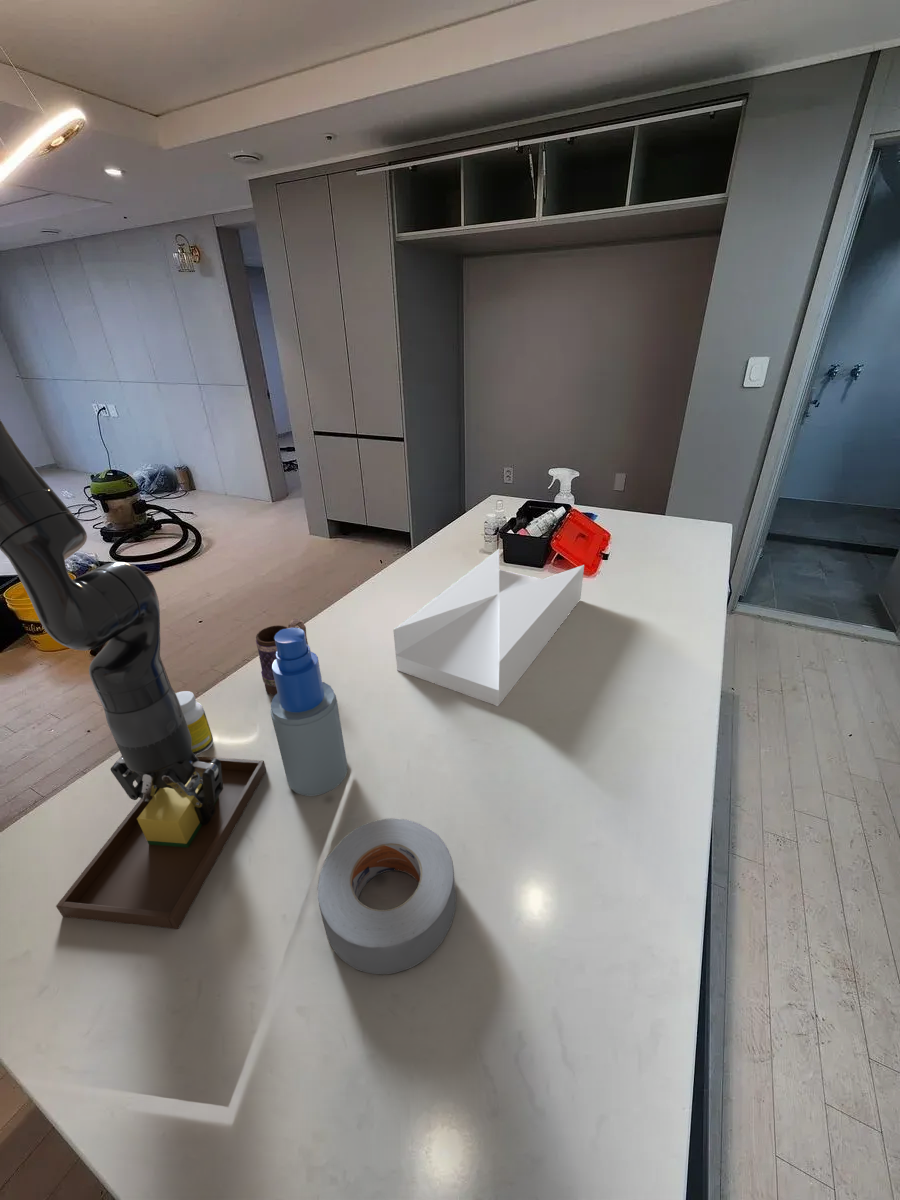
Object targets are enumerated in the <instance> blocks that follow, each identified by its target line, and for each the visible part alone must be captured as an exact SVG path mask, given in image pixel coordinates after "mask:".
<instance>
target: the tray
mask: <svg viewBox="0 0 900 1200" xmlns="http://www.w3.org/2000/svg"><path fill="white" fill-rule="evenodd" d="M196 756H197V758H198V759H199V761H201V762H206V763H210V762H211V761H212V759H218V760H220V762H221V770H222V782H223V790H222V791H221V793H220V794H219V798H218V800H217V802H216V803H215V805H214V807H215V813H214V815H213V817H212V818H211V820H210V821H209V822H208V824H207V825H202V826H201V828H200V829H199V831H198V833H197V834H196V836H195V838H194V839H193V841H192V842H191V844H190V846H189V847H188V848H187V847H174V846H161V845H149V844H148V842H147V840H146V837H145V835H144V833H143V831H142V829H141V827H140V825H139V822H138V820H137V818H138V817H139V815H140V814H141V813H142V811H143V810H144V809H145V807H146V806H147V805H148V804H146V803H145V802H144V801H143V799H142V798H139V800H138V801H137V802H136V804H135V805H134V807H132V809H131V810H130V811H129V813H128V814H127V815H126V817H125V818H123V820H122V822H121V823H120V824H119V825H118V827H117V828H116V829H115V831H114V832H113V833H112V834H111V835H110V837H108V839H107V841H106V842H105V843H104V844H103V845H102V846H101V848H100V850H99V851H98V852H97V853H96V855H95V856H94V857H93V858H92V860H91V861H90V862H89V864H87V866H86V868H85V869H84V870H83V871H82V872H81V874H80V875H79V876H78V877H77V879H76V880H75V881H74V882H73V884H72V885H71V886H70V887H69V888H68V890H67V891H66V893H65V894H64V895H63V897H62V898H61V899H60V900H59V901H58V903H57V904H55V908H56V909H57V910H58V913H60V915H61V917H63V918H71V919H80V920H89V921H97V922H98V921H99V922H107V923H117V924H126V925H135V926H145V927H154V928H164V929H173V930H179V929H180V927H181V925H182V923H183V922H184V920H185V918H186V916H187V914H188V913H189V911H190V909H191V907H192V905H193V903H194V902H195V900H196V898H197V896H198V894H199V893H200V891H201V889H202V888H203V886H204V883H205V882H206V880H207V878H208V877H209V875H210V873H211V871H212V869H213V868H214V866H215V865H216V863H217V860H218V859H219V857H220V855H221V853H222V851H223V850H224V848H225V846H226V844H227V843H228V841H229V839H230V837H231V836H232V833H233V832H234V830H235V828H236V826H237V824H238V823H239V821H240V819H241V817H242V816H243V814H244V812H245V811H246V808H247V806H248V805H249V803H250V801H251V800H252V798H253V796H254V794H255V793H256V790H257V789H258V787H259V785H260V783H261V782H262V780H263V778H264V776H265V774H266V772H267V767H266V764H265V761H264V760H259V759H258V760H256V759H244V758H243V759H241V758H229V757H228V758H227V757H214V756H213V757H212V756H200V755H199V756H198V755H196Z"/></svg>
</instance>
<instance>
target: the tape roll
mask: <svg viewBox="0 0 900 1200" xmlns="http://www.w3.org/2000/svg"><path fill="white" fill-rule="evenodd" d="M392 871H396V872H403V873H406V874H408V875H410V876H411V877H412V878H414V879H415V880H416V882H417V883H418V885H417V886H416V887H417V888H416V889H415V890H414V892H413V893H412V895H411V896H410V897H409V898H408V899H407V900H406V901H405V902H403V903H402V904H400V905H398V906H395V907H392V908H387V909H376V908H372V907H369V906H367V905H365V904H364V903H362V902H361V901H360V900H359V898H360V895H361V893H362V891H363V889H364V888H365V886H366V885H367V884H368V883H369V882H370V881H371V880H372V879H373V878H375V877H377V876H378V875H380V874H383V873H386V872H392ZM455 880H456V879H455V868H454V863H453V857H452V855H451V852H450V850H449V848H448V846H447V844H446V843H445V842H444V840H443V839H442V838H441V836H440V835H439V834H438V833H437V832H435V831H434V830H432V829H430V828H429V827H427V826H425V825H423V824H421V823H418V822H415V821H413V820H409V819H405V818H395V817H391V818H389V817H388V818H383V819H377V820H373V821H371V822H367V823H365V824H363V825H360V826H358V827H357V828H355V829H353V830H352V831H351V832H349V833H348V834H346V835H345V836H344V837H343V838H342V839H341V841H340V842H339V843H338V844H337V845H336V846H335V847H334V849H333V850H332V851H331V852H330V853H329V855H327V857H326V859H325V860H324V863H323V866H322V868H321V870H320V873H319V877H318V881H317V882H318V883H317V901H318V902H317V903H318V907H319V912H320V916H321V920H322V923H323V927H324V932H325V936H326V938H327V941H328V942H329V944H330V947H331V948H332V950H333V951H334V952H335V954H336V955H337V956H338V957H339V958H340V959H341V960H342V961H343V962H344V963H345V964H347V965H348V966H350V967H351V968H354V969H356V970H357V971H361V972H364V973H367V974H373V975H389V974H390V975H391V974H396V973H400V972H403V971H406V970H409V969H411V968H413V967H415V966H417V965H419V964H420V963H422V962H423V961H425V960H426V959H427V958H428V957H430V956H431V955H432V954H433V953H434V952H435V951H436V950H437V949H438V947H439V946H440V945H441V944H442V943H443V941H444V940H445V938H446V935H447V934H448V932H449V931H450V928H451V925H452V923H453V920H454V916H455V911H456V904H457V897H456V881H455Z"/></svg>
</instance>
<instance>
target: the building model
mask: <svg viewBox="0 0 900 1200" xmlns="http://www.w3.org/2000/svg"><path fill="white" fill-rule="evenodd" d="M584 571H585V564H581V565H579V566H576V567H573V568H570V569H567V570H564V571H561V572H558V573H555V574H552V575H550V576H546V577H544V578H540V577H535V576H532V575H526V574H523V573H522V574H521V573H516V572H513V571H509V570H503V569H500V548H497V550H495V551H494V552H493V553H491V554H490V555H488V556H487V557H486V558H485V559H484V560H482V561H480V562H479V563H478V564H476V566H474V567H473V568H471V569H470V570H469V571H467V572H466V573H465V574H463V576H461V577H460V578H458V580H456V581H455V582H453V583H452V584H450V585H449V586H448V587H447V588H445V589H444V590H442V591H441V592H440V593H439V594H438V595H436V596H434V597H433V598H432V599H431V600H429V602H427V603H426V604H425V605H423V606H422V607H421V608H419V609H418V610H416V611H415V612H414V613H412V614H411V615H410V616H409V617H407V618H406V619H405V620H404V621H402V622H401V623H400V624H398V625H397V626H396V627H394V628H393V631H392V632H393V641H394V652H395V662H396V671H398V672H401V673H403V674H407V675H409V676H412V677H415V678H417V679H421V680H424V681H426V682H429V683H432V684H434V683H435V685H438V686H440V687H443V688H446V689H449V690H451V691H454V692H457V693H460V694H463V695H464V696H469V697H471V698H474V699H476V700H478V701H482V702H485V703H488V704H491V705H494V706H496V707H499V706H501V704H502V702H503V701H504V700H505V698H506V697H507V696H508V695H509V693H510V692H511V690H512V689H513V688H514V687H515V686H516V684H517V683H518V682H519V681H520V679H521V678H522V677H523V675H524V674H525V673H526V672H527V670H528V669H529V667H530V666H531V665H532V663H533V662H534V661H535V660H536V658H537V657H538V656H539V655H540V653H541V652H542V651H543V649H544V648H545V647H546V646H547V644H548V643H549V642H550V641H551V639H552V638H553V637H554V635H555V634H556V633H557V631H558V630H559V629H560V627H561V626H562V625H563V624H562V622H563V621H564V620H565V619H566V620H567V618H568V617H569V616H568V614H569V613H570V612H571V610H572V609H573V608H574V607H575V605H576V604H577V603H578V601H579V600H580V599H582V598H581V597H582V589H583V580H584ZM580 601H581V600H580ZM578 604H579V603H578ZM578 604H577V605H578ZM577 605H576V606H577ZM575 608H576V607H575ZM575 608H574V609H575ZM574 609H573V610H574ZM571 613H572V612H571ZM571 613H570V614H571ZM567 616H568V617H567ZM566 617H567V618H566ZM566 620H565V621H566ZM565 621H564V622H565ZM564 622H563V623H564ZM561 624H562V625H561ZM560 625H561V626H560ZM559 626H560V627H559ZM558 628H559V629H558ZM557 629H558V630H557ZM555 632H556V633H555ZM554 633H555V634H554ZM551 637H552V638H551ZM548 641H549V642H548Z"/></svg>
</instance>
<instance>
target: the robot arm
mask: <svg viewBox="0 0 900 1200" xmlns="http://www.w3.org/2000/svg"><path fill="white" fill-rule="evenodd" d="M87 539H88V534H87V531H86V529H85V528H84V526H83V525H82V523H81V522H80V521H79V520H78V518H77V517H76V516H75V514H74V513H72V511H71V510H70V509H69V508H68V507H67V505H66V504H65V503H64V502H63V500H62V499H61V498H60V497H59V496H58V494H57V493H56V492H55V491H54V490H53V489H52V487H51V486H50V485H49V484H48V483H47V482H46V480H45V479H44V478H43V477H42V476H41V474H40V473H39V472H38V471H37V469H36V468H35V467H34V465H33V464H32V463H31V462H30V460H29V459H28V458H27V456H26V455H25V454H24V452H23V451H22V449H21V448H20V447H19V445H18V444H17V442H16V441H15V440H14V438H13V436H12V435H11V434H10V432H9V430H8V429H7V427H6V426H5V424H4V423H3V421H2V420H1V418H0V551H1V552H2V553H3V554H4V555H5V556H6V558H7V559H8V560H9V562H10V564H11V565H12V567H13V569H14V571H15V573H16V574H17V576H18V578H19V580H20V583H21V584H22V586H23V588H24V590H25V592H26V593H27V596H28V598H29V600H30V602H31V604H32V607H33V609H34V612H35V614H36V617H37V618H38V620H39V622H40V624H41V626H42V628H43V629H44V630H45V632H46V633H47V634H48V636H50V637H51V638H52V639H53V640H54V641H55V642H57V643H58V644H60V645H62V646H64V647H66V648H69V649H71V650H75V651H85V652H86V651H91V650H95V649H96V648H99V647H101V646H102V645H104V644H105V646H104V647H103V648H102V649H101V650H99V652H98V653H97V654H96V655H95V656H94V658H92V661H91V662H90V664H89V667H88V675H89V678H90V681H91V683H92V685H93V687H94V690H95V691H96V694H97V697H98V698H99V701H100V703H101V705H102V709H103V710H104V715H105V719H106V723H107V726H108V728H109V730H110V732H111V735H112V737H113V739H114V741H115V744H116V746H117V748H118V751H119V753H120V755H121V756H120V757H119V758H118V759H117V760H116V761H115V762H114V764H113V765H112V766H111V767H110V769H109V770H110V772H111V774H112V775H113V777H114V778H115V779H116V780H117V782H118V783H119V784H120V786H121V787H122V789H123V790H124V792H125V793H126V795H127V796H128V797H129V799H131V800H133V801H137V800H138V799H141V798H142V799H143V801H144V802H145V803H146V804H148V803H149V802H150V801H151V799H152V798H153V797H154V795H155V794H156V793H157V791H158V790H159V789H160V788H167V787H168V788H172V789H174V790H175V791H176V792H177V793H178V794H179V795H180V796H181V797H182V798H186V797H187V798H188V799H189V801H191V802H192V804H193V805H194V806H195V807H194V808H195V811H196V814H197V816H198V819H199V821H200V824H202V825H207V824H208V822H209V821H210V820H211V818H212V817H213V815H214V813H215V807H214V803H215V801H216V799H217V798H218V796H219V794H220V793H221V791H222V790H223V782H222V770H221V762H220V760H218V759H212V761H211V762H210V763H206V762H201V761H199V759H198V758H197V756H198V755H194V753H193V752H192V738H191V734H190V732H189V729H188V726H187V723H186V720H185V717H184V714H183V712H182V709H181V706H180V703H179V700H178V698H177V696H176V694H175V693H176V691H175V690H174V688H173V687H172V685H171V682H170V679H169V677H168V674H167V670H166V668H165V665H164V662H163V660H162V657H161V608H160V602H159V601H160V600H159V596H158V592H157V590H156V588H155V586H154V584H153V582H152V581H151V579H150V577H148V575H147V574H146V573H145V572H144V571H143V570H142V569H140V568H139V567H138V566H136V565H134V564H132V563H129V562H125V561H113V562H110V563H109V562H108V563H106V564H103V565H101V566H99V567H97V568H95V569H93V570H91V571H88V572H86V573H84V574H82V575H79V576H78V577H76V578H74V579H72V578H71V576H70V574H69V572H68V569H67V566H66V560H67V559H68V558H70V557H71V556H73V555H74V554H76V553H77V552H78V551H79V550H80V549H82V548H83V547H84V545H85V544H86V543H87ZM190 778H191V781H190V782H189V783H188V785H187V786H185V785H186V783H187V782H188V781H189V779H190ZM135 782H136V783H137V784H136V785H135V784H134V783H135ZM197 788H198V789H199V790H200V793H199V795H197V794H196V792H195V790H196V789H197Z"/></svg>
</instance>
